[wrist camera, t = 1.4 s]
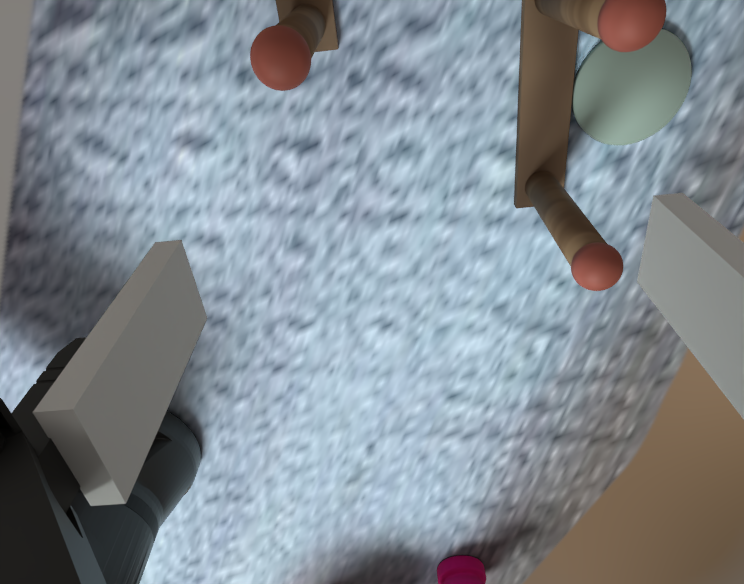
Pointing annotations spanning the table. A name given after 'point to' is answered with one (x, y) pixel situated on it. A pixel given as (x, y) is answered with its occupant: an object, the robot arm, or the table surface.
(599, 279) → the gate course
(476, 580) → the pepper mill
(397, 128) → the table surface
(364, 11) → the table surface
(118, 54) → the table surface
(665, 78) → the pad
